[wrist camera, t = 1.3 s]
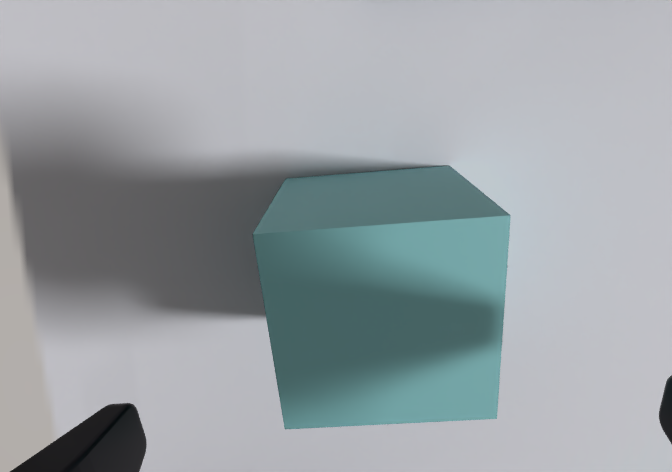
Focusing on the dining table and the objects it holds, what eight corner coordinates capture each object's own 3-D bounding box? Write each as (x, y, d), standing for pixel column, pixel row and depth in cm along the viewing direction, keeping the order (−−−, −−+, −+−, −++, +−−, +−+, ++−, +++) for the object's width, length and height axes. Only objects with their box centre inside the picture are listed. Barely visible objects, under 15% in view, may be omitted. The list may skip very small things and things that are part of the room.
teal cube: (447, 308, 14) (496, 418, 10) (303, 317, 15) (285, 429, 10) (448, 165, 13) (510, 215, 8) (286, 178, 13) (252, 234, 8)
